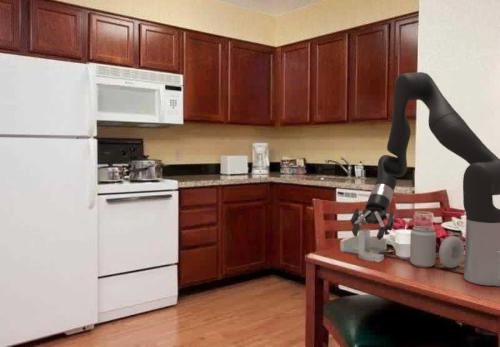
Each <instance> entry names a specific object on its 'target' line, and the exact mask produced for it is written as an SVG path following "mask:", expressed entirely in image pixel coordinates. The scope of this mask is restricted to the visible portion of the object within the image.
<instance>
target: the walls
mask: <svg viewBox="0 0 500 347" xmlns="http://www.w3.org/2000/svg"><path fill="white" fill-rule="evenodd" d="M387 241H388V238H384V237H383V238H381V240H378V238H377V236H376V237H375V236H370V247H375V248H382V249H385V251H386V250H387V246H388V245H387V244H388V243H387ZM339 245H340V247H339V248H340V252H341V253H342V252H343V253H345V252H344V250H346V249H348V248H350V247H352V246H354V245H359V234H357V236H354V235H353V234H352V235H351V236H350V235H349V236H347V237H345V238H343V239H340V244H339Z"/></svg>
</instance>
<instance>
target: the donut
mask: <svg viewBox="0 0 500 347" xmlns="http://www.w3.org/2000/svg"><path fill="white" fill-rule="evenodd" d="M464 246H465V245H464V243H463V242H462V239H460V237H458V236H455V235H450V236H447V237H445V239H444V240H443V241H442V242H441V243H440V246H439V250H438V258H439V261H440V263H441V264H442V265H443V266H444V267H445V268H446V269H454V268H456V267H458V266H459V265H460V264H461V262H462V260H463V258H464V256H465V247H464Z"/></svg>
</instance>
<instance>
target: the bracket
mask: <svg viewBox="0 0 500 347" xmlns="http://www.w3.org/2000/svg"><path fill="white" fill-rule="evenodd" d="M358 235H359V254H358V260H364V261H369V262H374V261H375V263H380V262H382V261H383V260H385V254H381V253H379V254H375V253H370V237H371V229H370V228H363V229H359V231H358Z"/></svg>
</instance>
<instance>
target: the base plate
mask: <svg viewBox="0 0 500 347" xmlns="http://www.w3.org/2000/svg"><path fill="white" fill-rule="evenodd" d="M384 250H385V249H382V248H375V247H370V253H375V254H381V253H384V252H385V251H386V250H385V251H384ZM343 253H347V254H354V255H355V254H356V255H359V245H354V246H352V247H350V248H348V249H346V250H344V252H343Z"/></svg>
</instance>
